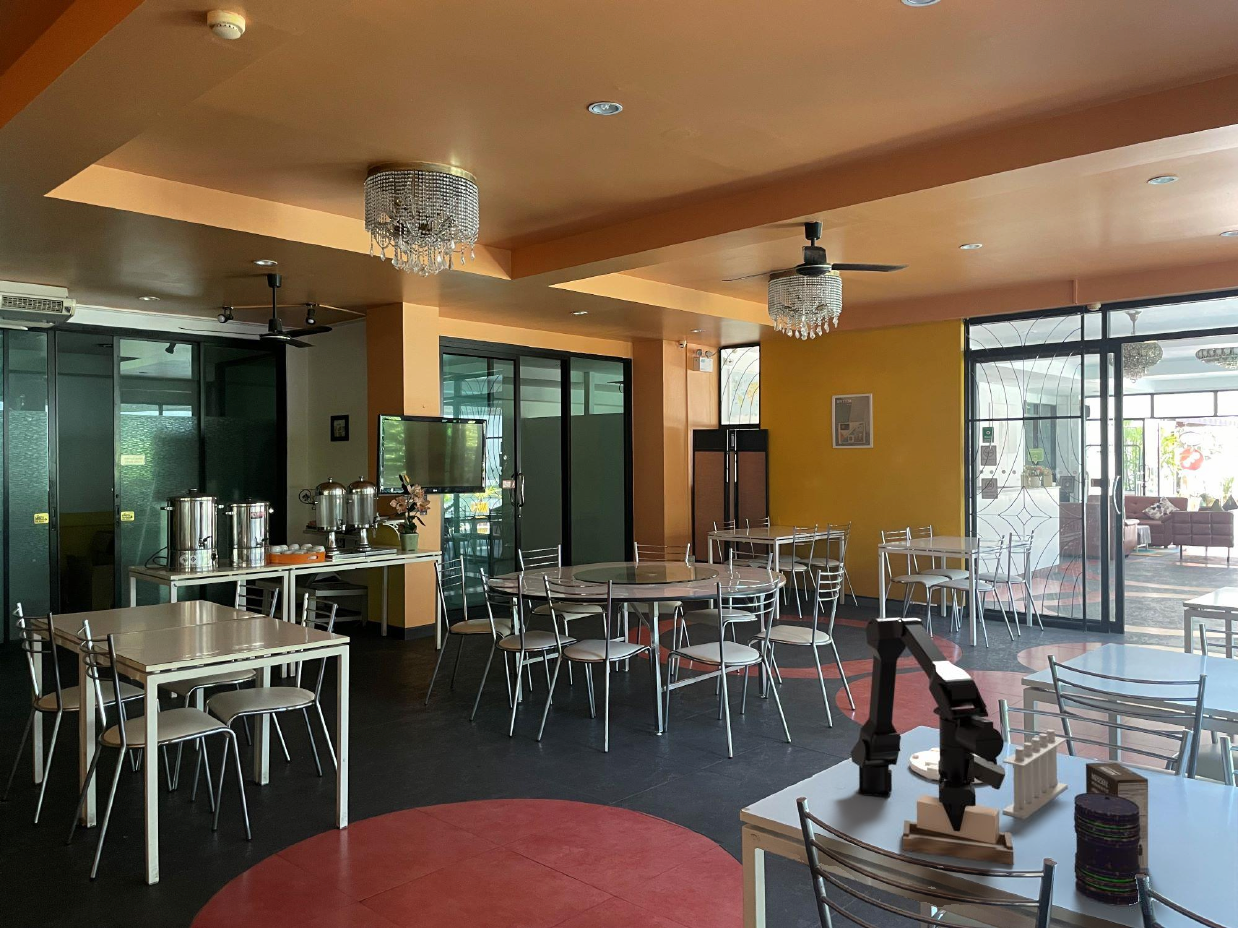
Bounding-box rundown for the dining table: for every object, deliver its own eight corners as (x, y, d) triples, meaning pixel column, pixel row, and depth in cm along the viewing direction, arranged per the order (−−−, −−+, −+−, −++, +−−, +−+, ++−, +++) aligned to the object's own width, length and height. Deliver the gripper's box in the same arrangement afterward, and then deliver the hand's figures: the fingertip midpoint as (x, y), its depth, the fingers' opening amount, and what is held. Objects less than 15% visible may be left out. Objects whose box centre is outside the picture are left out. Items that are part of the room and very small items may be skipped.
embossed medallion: (935, 753, 224) (935, 742, 224) (1014, 772, 209) (1014, 759, 209) (894, 772, 210) (894, 759, 210) (975, 793, 196) (975, 779, 196)
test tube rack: (1024, 819, 180) (1023, 754, 181) (1002, 813, 184) (1001, 749, 184) (1067, 787, 198) (1067, 728, 198) (1047, 783, 201) (1046, 724, 201)
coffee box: (1084, 848, 166) (1083, 762, 166) (1117, 846, 167) (1116, 761, 167) (1116, 870, 157) (1115, 779, 157) (1150, 868, 158) (1149, 777, 158)
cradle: (903, 849, 166) (903, 834, 166) (904, 832, 174) (904, 818, 174) (1013, 864, 160) (1013, 848, 160) (1009, 845, 168) (1009, 830, 168)
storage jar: (1140, 911, 142) (1139, 818, 143) (1072, 896, 148) (1070, 806, 148) (1142, 886, 151) (1141, 798, 151) (1077, 873, 156) (1076, 788, 156)
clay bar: (916, 827, 169) (916, 800, 169) (922, 820, 172) (922, 794, 172) (995, 843, 161) (994, 816, 161) (999, 835, 165) (999, 809, 165)
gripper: (1005, 763, 156) (1006, 851, 156) (998, 733, 173) (999, 812, 173) (938, 756, 159) (939, 843, 159) (938, 727, 177) (938, 806, 177)
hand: (956, 825), depth 167 cm, fingers closed on clay bar, 4 cm apart
